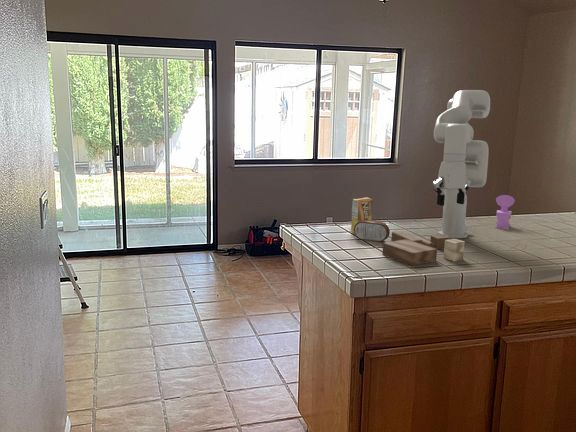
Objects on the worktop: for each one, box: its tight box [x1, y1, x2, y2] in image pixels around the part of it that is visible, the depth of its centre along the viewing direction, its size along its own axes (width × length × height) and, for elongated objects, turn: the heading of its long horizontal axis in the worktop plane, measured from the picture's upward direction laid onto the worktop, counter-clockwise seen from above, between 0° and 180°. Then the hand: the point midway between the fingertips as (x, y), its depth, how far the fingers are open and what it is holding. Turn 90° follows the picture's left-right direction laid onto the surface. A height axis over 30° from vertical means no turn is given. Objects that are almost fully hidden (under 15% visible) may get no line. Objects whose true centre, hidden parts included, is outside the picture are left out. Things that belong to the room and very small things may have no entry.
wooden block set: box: [390, 230, 450, 250], centre depth 222 cm, size 17×6×18 cm
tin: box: [354, 220, 391, 243], centre depth 227 cm, size 15×3×8 cm, turn 65°
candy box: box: [350, 197, 373, 235], centre depth 240 cm, size 9×4×15 cm, turn 129°
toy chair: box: [495, 194, 516, 230], centre depth 256 cm, size 8×9×15 cm
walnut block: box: [382, 239, 438, 266], centre depth 203 cm, size 12×16×5 cm
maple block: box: [443, 238, 466, 262], centre depth 202 cm, size 5×5×7 cm
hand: (450, 204), depth 201 cm, fingers open, 9 cm apart
